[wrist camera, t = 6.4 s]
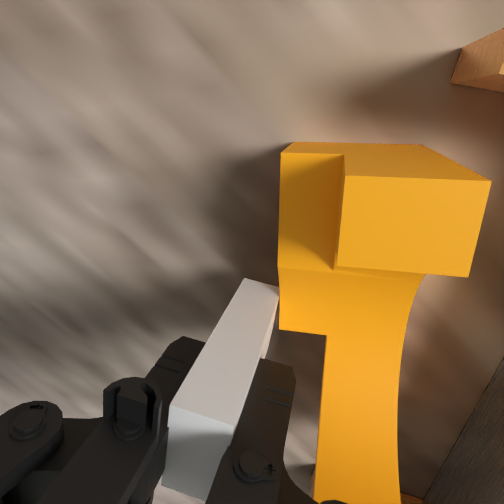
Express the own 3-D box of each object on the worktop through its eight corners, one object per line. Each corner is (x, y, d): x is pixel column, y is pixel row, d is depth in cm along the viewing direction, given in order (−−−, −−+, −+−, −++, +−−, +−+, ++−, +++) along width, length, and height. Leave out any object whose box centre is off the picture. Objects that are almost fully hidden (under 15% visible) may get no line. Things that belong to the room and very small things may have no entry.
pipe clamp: (294, 141, 13) (257, 172, 8) (421, 144, 13) (492, 181, 7) (283, 397, 18) (255, 540, 12) (376, 413, 17) (395, 575, 11)
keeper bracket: (311, 477, 19) (303, 563, 16) (462, 47, 11) (519, 20, 8) (441, 520, 18) (465, 622, 15) (710, 85, 10) (910, 75, 7)
